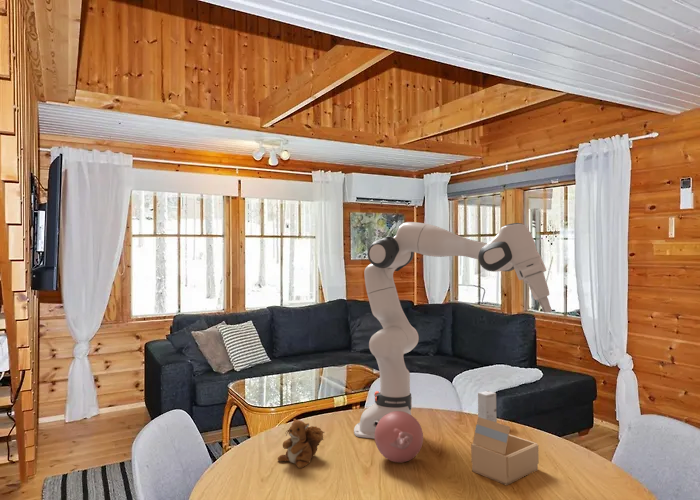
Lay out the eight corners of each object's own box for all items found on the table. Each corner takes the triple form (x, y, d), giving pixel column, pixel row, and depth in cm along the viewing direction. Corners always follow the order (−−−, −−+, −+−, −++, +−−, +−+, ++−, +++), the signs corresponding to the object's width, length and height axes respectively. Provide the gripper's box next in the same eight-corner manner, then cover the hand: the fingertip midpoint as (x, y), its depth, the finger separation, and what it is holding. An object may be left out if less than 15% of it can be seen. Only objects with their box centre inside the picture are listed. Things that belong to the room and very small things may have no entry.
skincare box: (486, 427, 190) (486, 395, 190) (477, 424, 194) (477, 392, 194) (497, 424, 193) (497, 392, 193) (488, 421, 197) (488, 390, 197)
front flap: (479, 417, 153) (477, 416, 153) (510, 426, 145) (509, 426, 144) (473, 443, 152) (472, 443, 151) (505, 454, 143) (503, 454, 143)
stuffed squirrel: (275, 462, 160) (274, 420, 160) (307, 449, 170) (307, 410, 170) (295, 471, 153) (295, 427, 153) (328, 457, 163) (328, 416, 163)
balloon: (374, 477, 148) (373, 424, 149) (375, 450, 168) (374, 404, 168) (426, 478, 147) (426, 425, 147) (421, 451, 167) (421, 405, 167)
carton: (503, 456, 162) (503, 431, 163) (540, 470, 152) (540, 443, 152) (470, 470, 152) (470, 444, 152) (508, 486, 142) (507, 457, 142)
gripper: (520, 276, 169) (536, 315, 166) (521, 271, 150) (539, 315, 147) (538, 269, 167) (555, 308, 164) (542, 263, 148) (561, 308, 145)
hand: (548, 312), depth 155 cm, fingers open, 8 cm apart
